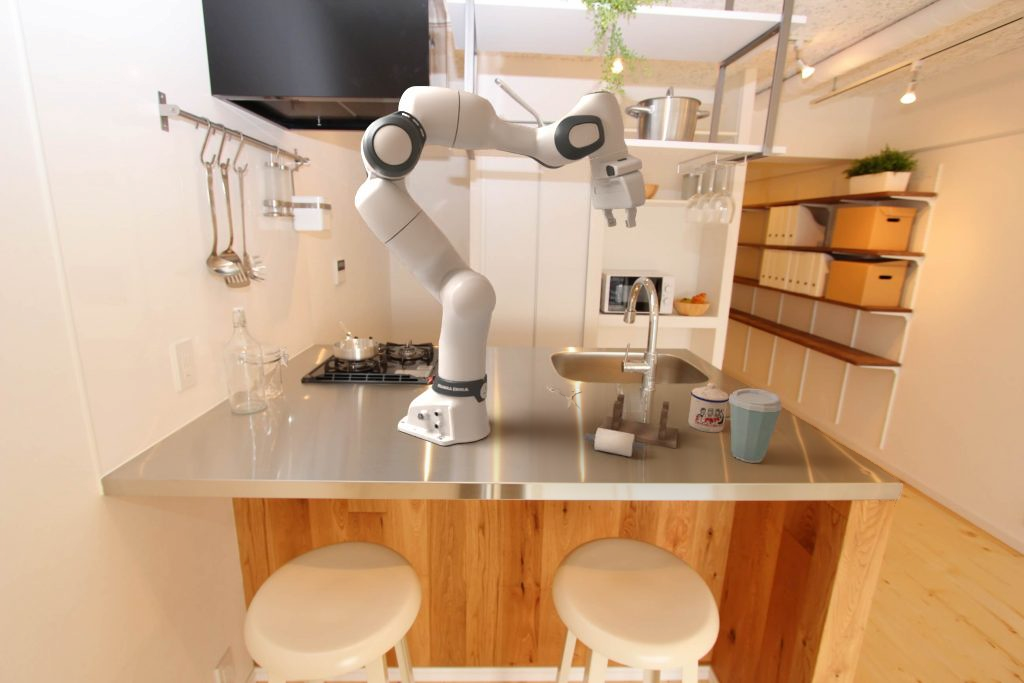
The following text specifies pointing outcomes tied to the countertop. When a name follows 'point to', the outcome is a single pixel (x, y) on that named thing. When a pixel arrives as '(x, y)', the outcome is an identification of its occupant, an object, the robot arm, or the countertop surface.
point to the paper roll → (614, 442)
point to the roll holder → (642, 426)
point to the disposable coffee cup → (752, 422)
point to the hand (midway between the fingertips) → (621, 226)
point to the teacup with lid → (708, 408)
